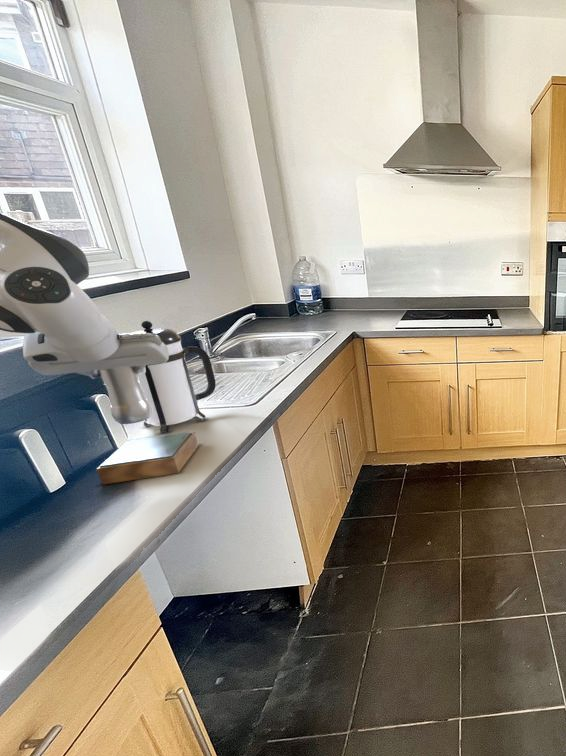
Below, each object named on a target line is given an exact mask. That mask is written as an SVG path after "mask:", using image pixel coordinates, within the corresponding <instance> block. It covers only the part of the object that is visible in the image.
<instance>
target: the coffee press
mask: <svg viewBox="0 0 566 756" xmlns="http://www.w3.org/2000/svg"><path fill="white" fill-rule="evenodd" d="M141 327H142V328H143V329H139V330H138V329H137V330H134V331H131V332H128V333H127V334H132V333H150V334H153V335H158V336H159V337H160V339H161V341H162V342H163V343H164V344H165V345H166V346H167V348H168V354H169V358H168V360H167V361H166V362H165V363H160V364H151V365H146V366H145V368H146V373H140V374H138V378H139V382H140V386H141V388H142V390H143V392H144V395H145V397H146V399H147V400H148V402H149V403H150V405H151V409H152V414H151V416H150V418H148V419H146V420H144V421H143V426H144V427H147V428H149V427H150V426H151V425H152V426H159V432H160V433H161V434H168V433H169V431H170V427H171V426H173V425H177V424H181V423H184V422H187V421H190V420H191V419H195V420H197V421H199V422H203V421H204V420H205V419H206V418H207V417H206V415H205V414H204V413H203V412H201V411H200V408H199V405H198V404H199V401H200V400H203V399H206V398H208V397H210V396H211V395H212V394H213V393H214V391H215V390H216V385H217V384H216V377H215V374H214V370H213V366H212V362H211V359H210V356H209V354H208V353H207V351H205V350H204V349H203V348H202V347H199V346H191V345H189V346H186V347H183V346H182V336H181V335H179V334H178V332H177V331H175V330H173V329H171V328H163V327H161V328H159V327H158V328H152V327H153V323H152V321H149V320H144V321H142V322H141ZM191 353H192V354H193V353H195V354H197V355H198V356H199V357H200V359H201V361H202V365H203V369H204V372H205V376H206V381H207V387H206V389H205V390H203V391H201V392H199V393H196V394H195V390H194V386H193V383H192V379H191V375H190V372H189V371H190V370H189V368H188V363H187V361H186V354H191ZM197 415H199V416H197Z"/></svg>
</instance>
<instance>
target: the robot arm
mask: <svg viewBox="0 0 566 756" xmlns="http://www.w3.org/2000/svg"><path fill="white" fill-rule="evenodd" d="M0 244H1V245H3V247H2V248H1V249H0V331H2V332H8V333H17V334H24V336H23V342H22V356H23V359H24V360H25V361H27V364H28V366H29V367H30V368H32V370H34V371H35V372H36V373H37V374H39V375H43V376H57V375H58V376H59V375H67V374H78V375H82V376H86V377H89V378H90V379H91V380H96V379H103V378H102V377H101V375H100V373H99V371H98V370H105V369H114V368H123V367H132V366H135V368H134V371H135V372H136V373H137V374H140V373H146V368H145V366H146V365H151V364H160V363H165V362H166V361H167V360H168V358H169V354H168V348H167V346H166V345H165V344H164V343H163V342H162V341H161V339H160V337H159V336H158V335H153V334H150V333H132V334H128V333H120V332H118V330H117V329H116V328H115V326H114V325H113V324H112V322H110V320H108V318H107V317H106V316H105V315H104V314H102V313H101V312H100V310H99V307H98V306H97V305H96V303H95V302H94V301H93V300H92V298H91V297H90V296H89V295H88V294H87V293H86V292H85V291H84V290H83V289H82V288H81V287H80V286H79V284H80V283H82V282H83V281H84V280H86V279H88V278H89V276H90V266H89V261H88V258H87V256H86V254H85V253H84V252H83V250H82V249H81V248H80V247H79V246H77V245H76V244H74V243H72V242H71V241H69V240H68V239H66V238H64V237H62V236H60V235H57V234H55V233H54V232H53V233H52V232H51V231H48V230H44V229H41V228H38V227H36V226H33V225H30V224H28V223H25V222H23V221H20V220H17V219H16V218H13V217H11V216H9V215H7V214H4V213H3V212H0Z"/></svg>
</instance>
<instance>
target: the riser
mask: <svg viewBox="0 0 566 756" xmlns="http://www.w3.org/2000/svg"><path fill="white" fill-rule="evenodd" d="M198 447H199V443H198V439H197V435H196V433H195V432H194V431H187V432H180V433H173V434H165V435H155V436H149V437H142V438H133V439H128V440H126V441H125V442H124V443H123V444H122V445H120V447H118V448H117V449H116V450H115V451H114V452H113V453H112V454H111V455H110V456H108V457H107V459H105V460H104V461H103V462H102V463H101V464H100V465H99V466H98V467H96V469H95V470H96V472H97V475H98V478H99V480H100V483H101V485H108V484H109V485H110V484H116V483H122V482H128V481H135V480H140V479H148V478H156V477H161V476H168V475H174V474H179V473H181V470H182V469H183V468H184V467H185V465H186V463H187V462H188V461H189V459H190V458H191V457H192V455H194V453H195V452H196V450H197V448H198Z"/></svg>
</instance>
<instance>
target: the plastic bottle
mask: <svg viewBox="0 0 566 756" xmlns="http://www.w3.org/2000/svg"><path fill="white" fill-rule="evenodd" d="M134 368H135V366H132V367H123V368H114V369H105V370H98V371H99V373H100V375H101V377H102V378H101V379H102V381H103V383H104V385H105V388H106V391H107V394H108V398H109V403H110V415H111V417H112V418H113V420H114V421H115V422H116V423H118V424H119V425H132V424H135V423H136V424H137V423H140V422H145V420H146V419H148V418H150V416H151V414H152V409H151V405H150V403H149V402H148V400H147V399H146V397H145V395H144V392H143V390H142V388H141V386H140V382H139V378H138V374H137V373H136V372H135V371H134Z"/></svg>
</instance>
